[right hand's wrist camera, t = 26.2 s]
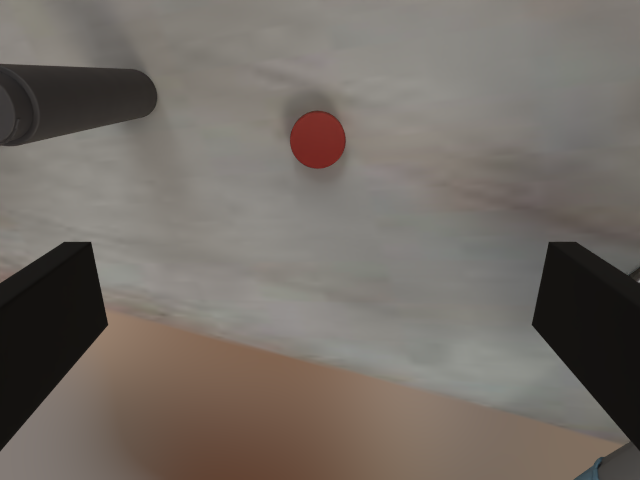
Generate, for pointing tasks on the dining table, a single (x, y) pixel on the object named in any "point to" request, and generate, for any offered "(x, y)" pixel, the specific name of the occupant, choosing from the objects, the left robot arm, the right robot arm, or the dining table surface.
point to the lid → (317, 139)
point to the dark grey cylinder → (68, 100)
